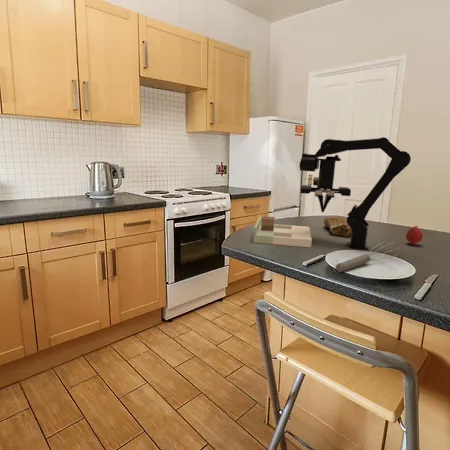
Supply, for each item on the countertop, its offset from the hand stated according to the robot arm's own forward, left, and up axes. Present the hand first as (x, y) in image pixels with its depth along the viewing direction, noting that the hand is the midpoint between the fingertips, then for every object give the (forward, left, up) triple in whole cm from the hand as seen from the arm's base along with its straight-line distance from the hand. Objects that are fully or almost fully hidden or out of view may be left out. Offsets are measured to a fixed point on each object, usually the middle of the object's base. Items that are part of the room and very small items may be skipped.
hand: (322, 211), depth 133 cm
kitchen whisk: (-24, -14, -12) cm, 30 cm away
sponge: (+19, -9, -12) cm, 25 cm away
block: (0, +21, -9) cm, 23 cm away
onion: (+6, -37, -12) cm, 39 cm away
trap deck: (0, +15, -12) cm, 19 cm away
